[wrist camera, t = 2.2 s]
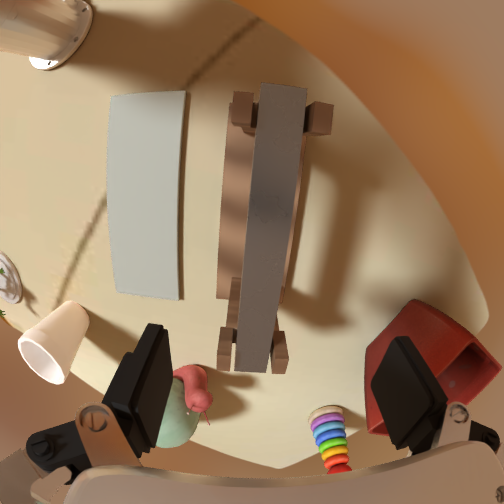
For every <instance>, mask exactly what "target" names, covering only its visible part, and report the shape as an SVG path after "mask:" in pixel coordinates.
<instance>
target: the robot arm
mask: <svg viewBox="0 0 504 504" xmlns="http://www.w3.org/2000/svg"><path fill="white" fill-rule="evenodd" d="M92 18H93V12H92V9H91V7H90V5H89V4H87V3H86V2H85V1H82V0H0V51H3V52H9V53H14V54H19V55H24V56H28V57H30V61H31V63H32V65H33V66H34V67H35V68H37V69H41V70H49V69H52V68H55V67H57V66H59V65H60V64H62V63H63V62H65V61H66V60H67V59H68V58H69V57H70V56H71V55H72V54H73V53H74V52H75V51H76V50H77V48H78V47H79V46H80V45H81V43H82V42H83V40H84V39H85V37H86V35H87V33H88V31H89V29H90V26H91V23H92ZM172 383H173V369H172V362H171V354H170V346H169V337H168V330H167V329H164V328H163V325H158V324H151V323H149V324H148V325H147V326H146V328H145V330H144V332H143V334H142V336H141V338H140V340H139V342H138V344H137V346H136V348H135V350H134V353H132V352H127V353H126V354H125V355H124V357H123V359H122V361H121V363H120V365H119V367H118V369H117V371H116V373H115V375H114V377H113V379H112V381H111V383H110V385H109V387H108V390H107V392H106V394H105V396H104V398H103V400H102V403H100V402H89V403H86V404H84V405H82V406H81V407H80V408H79V409H78V411H77V412H76V415H75V420H74V421H71V422H68V423H65V424H62V425H59V426H56V427H53V428H49V429H46V430H43V431H40V432H37V433H34V434H32V435H31V436H30V437H29V438H28V440H27V443H26V449H24V450H23V451H22V450H21V449H19V450H17V451H16V452H14V453H13V454H11V455H10V456H8V457H7V458H5V459H4V460H3V461H1V462H0V501H1V503H2V504H50V500H51V497H52V496H53V495H54V494H55V493H57V492H58V490H57V489H58V488H59V487H61V486H62V485H63V484H64V485H70V484H72V485H71V487H70V489H69V491H68V493H67V495H66V498H65V500H64V503H63V504H504V444H503V443H501V444H500V439H499V436H498V434H497V433H496V431H494V430H493V429H491V428H488V427H486V426H484V425H481V424H479V423H477V422H474V421H472V420H471V412H470V410H469V409H468V407H467V406H466V405H465V404H463V403H461V402H452V403H450V404H449V405H447V404H446V403H447V401H448V400H449V399H448V397H447V396H446V394H445V392H444V391H443V389H442V387H441V386H440V384H439V382H438V381H437V379H436V377H435V376H434V374H433V373H432V371H431V369H430V368H429V366H428V365H427V363H426V362H425V360H424V358H423V357H422V355H421V354H420V352H419V351H418V349H417V348H416V346H415V345H414V343H413V342H412V340H411V339H410V337H409V336H396V337H395V338H394V339H393V340H392V341H391V342H390V344H389V346H388V349H387V351H386V353H385V355H384V357H383V359H382V361H381V363H380V365H379V367H378V369H377V371H376V373H375V374H374V376H373V378H372V380H371V384H370V386H371V390H372V392H373V395H374V397H375V400H376V402H377V405H378V407H379V410H380V412H381V415H382V418H383V420H384V423H385V426H386V428H387V431H388V434H389V436H390V439H391V442H392V444H394V445H395V446H396V449H397V450H399V449H402V448H406V447H407V446H409V449H410V450H409V452H408V455H407V457H406V458H403V459H400V460H396V461H393V462H389V463H385V464H381V465H377V466H373V467H368V468H363V469H358V470H353V471H347V472H341V473H334V474H327V475H318V476H309V477H295V478H272V479H271V478H270V479H256V478H255V479H253V478H250V479H249V478H229V477H217V476H206V475H197V474H189V473H182V472H175V471H169V470H162V469H155V468H148V467H143V466H142V464H141V463H140V461H139V459H138V458H140V457H141V455H142V452H145V453H149V452H150V448H151V447H152V448H155V446H156V443H157V439H158V435H159V431H160V427H161V423H162V420H163V416H164V412H165V408H166V405H167V401H168V397H169V394H170V390H171V386H172Z"/></svg>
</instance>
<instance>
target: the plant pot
mask: <svg viewBox="0 0 504 504" xmlns="http://www.w3.org/2000/svg"><path fill="white" fill-rule="evenodd" d="M396 336H409V337H410V339H411V340H412V342H413V343H414V345H415V346H416V348H417V349H418V351H419V352H420V354H421V355H422V357H423V358H424V360H425V362H426V363H427V365H428V366H429V368H430V369H431V371H432V373H433V374H434V376H435V377H436V379H437V381H438V382H439V384H440V386H441V387H442V389H443V391H444V392H445V394H446V396H447V397H448V399H449V400H448V401H447V403H446V404H447V405H449V404H450V403H452V402H461V403H463V404H465V405H468V404H469V402H471V401H472V400H473V399H474V398H475V397H476V396H477V395H478V394H479V393H480V392H481V391H482V390H483V389H484V388H485V387H486V386H487V385H488V384H489V383H490V382H491V381H492V380H493V379H494V377H496V375H497V374H498V373H499V372H500V370H501V369H502V366H501V365H500V364H499V363H498V362H497V361H496V359H494V357H493V356H492V355H491V354H490V353H489V352H488V351H487V350H486V349H485V347H484V346H483V345H482V344H481V343H480V342H479V341H478V339H477V338H476V337H475V336H474V335H472V334H471V333H470V332H469V331H468V330H467V329H465V328H464V327H463V326H461V325H460V324H459V323H457V322H456V321H455V320H453V319H452V318H450V317H449V316H447V315H446V314H444V313H443V312H441V311H439V310H438V309H436V308H434V307H432V306H430V305H428V304H426V303H424V302H422V301H419V300H416V299H413V300H411V301H410V302H409V303H408V304H407V305H406V306H405V307H404V308H403V309H402V311H401V312H400V313H399V314H398V315H397V316H396V317H395V318H394V320H393V321H392V322H391V323H390V324H389V325H388V326H387V327H386V328H385V329H384V330H383V331H382V332H381V334H380V335H379V336H378V337H377V338H376V339H375V340H374V341H373V342H372V343H371V344H370V345H369V346H368V347H367V348H366V354H365V372H364V392H365V408H366V420H367V428H368V433H370V434H376V435H384V436H389V434H388V431H387V428H386V426H385V423H384V420H383V418H382V415H381V412H380V410H379V407H378V405H377V402H376V400H375V397H374V395H373V392H372V390H371V386H370V384H371V380H372V378H373V376H374V374H375V373H376V371H377V369H378V367H379V365H380V363H381V361H382V359H383V357H384V355H385V353H386V351H387V349H388V346H389V344H390V342H391V341H392V340H393V339H394V338H395V337H396Z"/></svg>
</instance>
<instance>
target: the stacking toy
mask: <svg viewBox="0 0 504 504" xmlns="http://www.w3.org/2000/svg"><path fill="white" fill-rule="evenodd" d="M308 422H309V424H310V425H311V430H312V431H313V437H314V438H315V439H316V445H317V446H319V451H320V453H322V459H323V460H325V462H324V466H325V467H326V468H328V469H329V471H328V473H327V474H334V473H341V472H347V471H352V469H351V468H350V467H349V466H348V465H346V464H347V463H348V461H349V458H348V456H347V453H348V448H347V447H346V446H347V440H346V439H345V438H346V433H345V425H344V422H345V419H344V417H343V410H342V409H341V408H340V407H337V406H326V407H322V408H319V409H317V410H316V411H314V412H313V413H312V414H311V415H310V416H309V418H308Z"/></svg>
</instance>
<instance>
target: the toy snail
mask: <svg viewBox="0 0 504 504" xmlns="http://www.w3.org/2000/svg"><path fill="white" fill-rule="evenodd" d="M212 402H213V398H212V395H211V394H210V393H209V392H207V374H206V371H205V370H203V369H202V368H201V367H199V366H196V365H187V366H183V367H181V368H179V369H177V370H175V371H173V383H172V386H171V390H170V394H169V397H168V401H167V405H166V408H165V412H164V416H163V420H162V423H161V427H160V431H159V435H158V439H157V443H156V446H158V447H162V448H171V447H177V446H180V445H182V444H183V443H185V442H187V441H188V440H189V438H190V437H191V436H192V435H193V434H194V432H195V430H196V428H197V424H198V421H199V417H200V414H201V412H203V413H204V415H205V417H206V419H207V416H206V414H205V411H206V410H207V409H208V408H209V407H210V406H211V405H212ZM207 422H208V419H207ZM208 425H210V424H209V422H208Z"/></svg>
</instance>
